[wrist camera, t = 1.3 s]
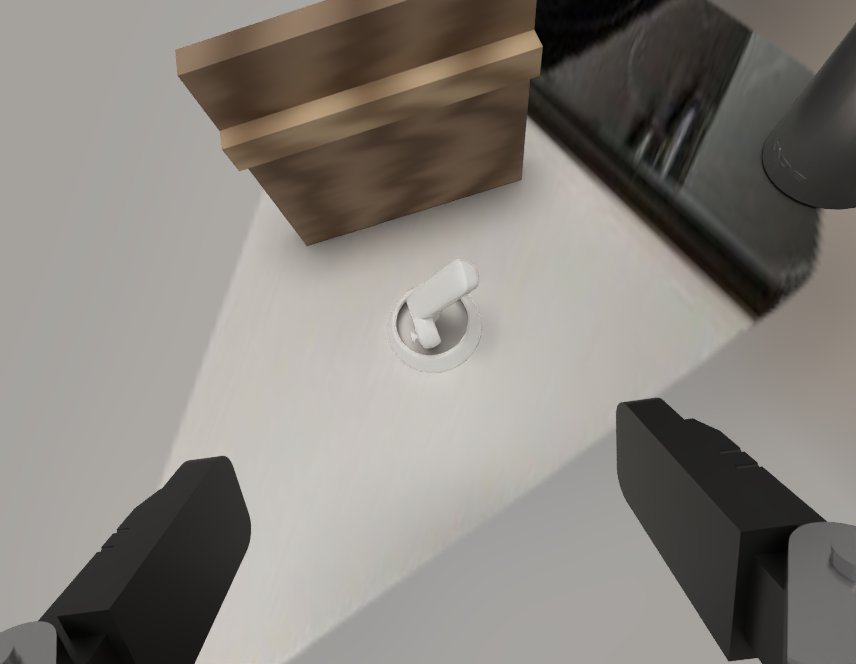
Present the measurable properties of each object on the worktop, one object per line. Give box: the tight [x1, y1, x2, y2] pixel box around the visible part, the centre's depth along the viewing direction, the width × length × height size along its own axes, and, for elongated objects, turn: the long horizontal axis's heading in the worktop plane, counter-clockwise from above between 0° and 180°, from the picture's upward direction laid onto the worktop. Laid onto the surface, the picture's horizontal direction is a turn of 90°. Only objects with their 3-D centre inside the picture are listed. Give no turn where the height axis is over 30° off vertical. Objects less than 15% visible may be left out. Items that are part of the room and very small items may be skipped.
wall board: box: [176, 0, 542, 246], centre depth 33 cm, size 20×4×18 cm, turn 105°
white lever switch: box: [388, 259, 482, 373], centre depth 34 cm, size 8×12×7 cm
